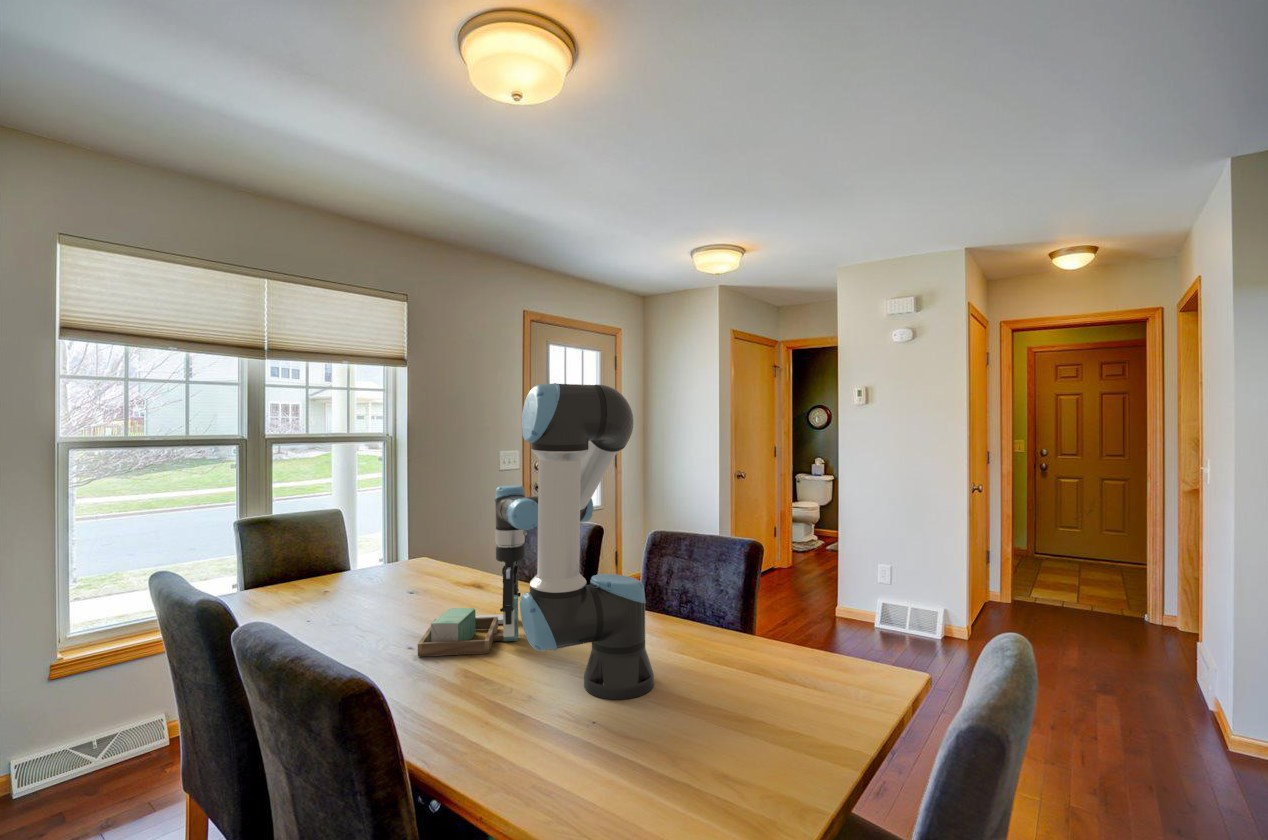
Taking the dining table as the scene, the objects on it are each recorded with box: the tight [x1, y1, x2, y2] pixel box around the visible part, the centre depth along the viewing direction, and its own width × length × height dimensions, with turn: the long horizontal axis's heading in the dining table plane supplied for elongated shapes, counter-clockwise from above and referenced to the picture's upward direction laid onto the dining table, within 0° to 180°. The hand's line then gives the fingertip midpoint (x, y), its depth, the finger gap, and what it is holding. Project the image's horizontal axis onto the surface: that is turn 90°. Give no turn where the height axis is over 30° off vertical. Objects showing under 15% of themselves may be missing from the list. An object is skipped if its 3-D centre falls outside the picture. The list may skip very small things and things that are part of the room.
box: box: [430, 607, 476, 642], centre depth 158 cm, size 7×14×8 cm, turn 177°
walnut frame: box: [417, 595, 519, 657], centre depth 159 cm, size 19×23×11 cm
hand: (511, 628), depth 160 cm, fingers open, 10 cm apart
